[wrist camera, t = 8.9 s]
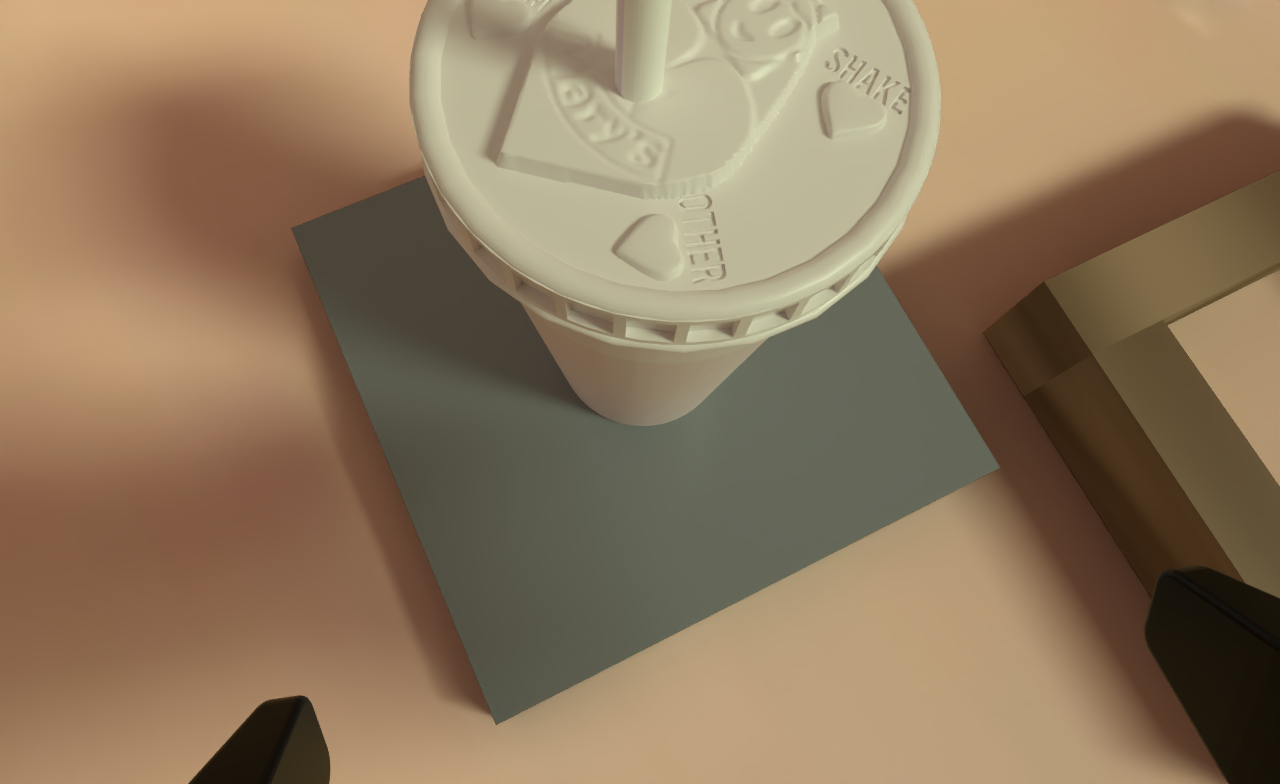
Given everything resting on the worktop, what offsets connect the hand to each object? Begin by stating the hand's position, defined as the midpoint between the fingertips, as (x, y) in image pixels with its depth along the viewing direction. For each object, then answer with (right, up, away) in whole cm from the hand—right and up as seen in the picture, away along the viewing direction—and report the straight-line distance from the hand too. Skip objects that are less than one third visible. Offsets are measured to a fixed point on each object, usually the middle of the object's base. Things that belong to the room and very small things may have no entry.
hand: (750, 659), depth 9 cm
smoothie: (-1, +4, +11) cm, 11 cm away
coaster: (-1, +4, +11) cm, 12 cm away
